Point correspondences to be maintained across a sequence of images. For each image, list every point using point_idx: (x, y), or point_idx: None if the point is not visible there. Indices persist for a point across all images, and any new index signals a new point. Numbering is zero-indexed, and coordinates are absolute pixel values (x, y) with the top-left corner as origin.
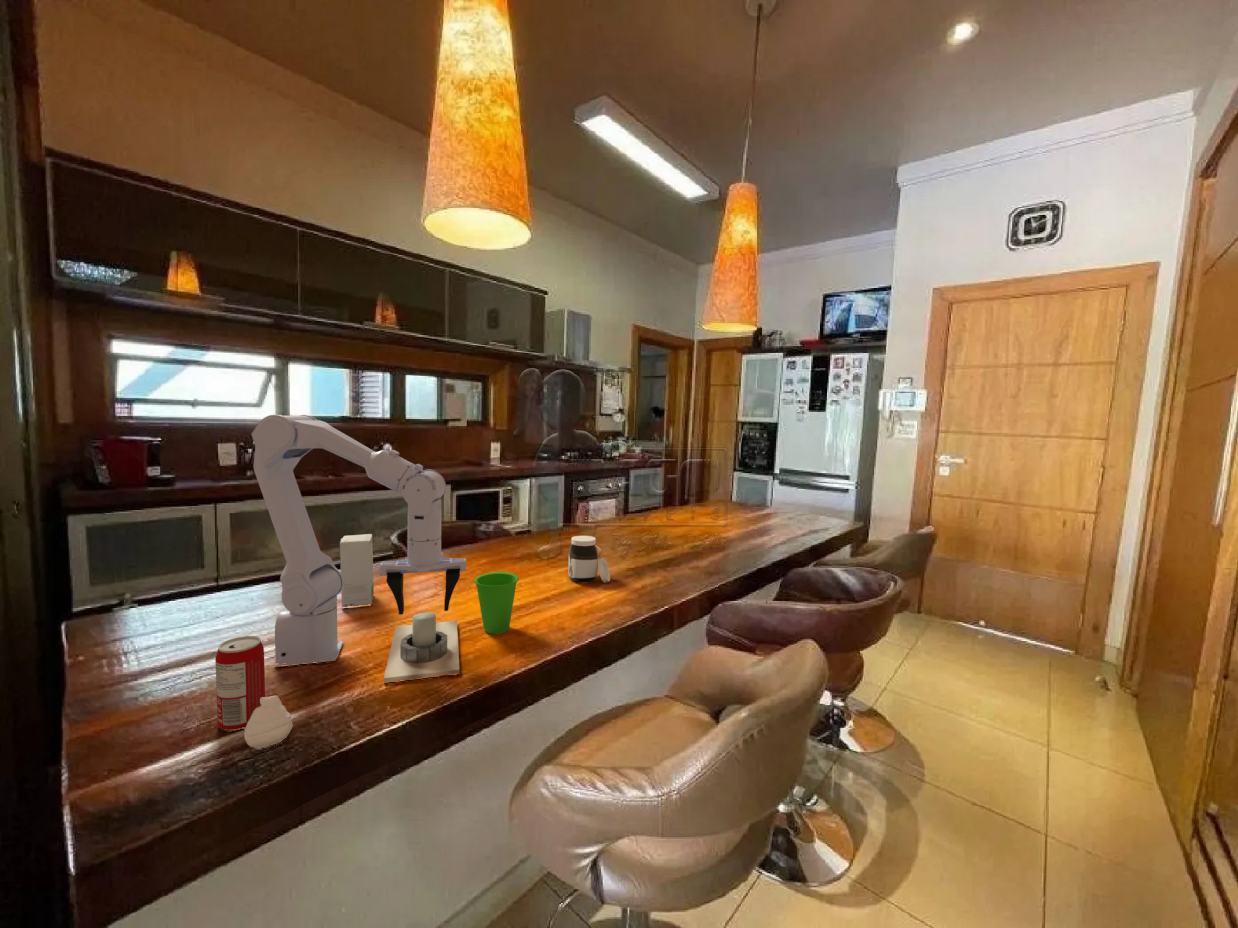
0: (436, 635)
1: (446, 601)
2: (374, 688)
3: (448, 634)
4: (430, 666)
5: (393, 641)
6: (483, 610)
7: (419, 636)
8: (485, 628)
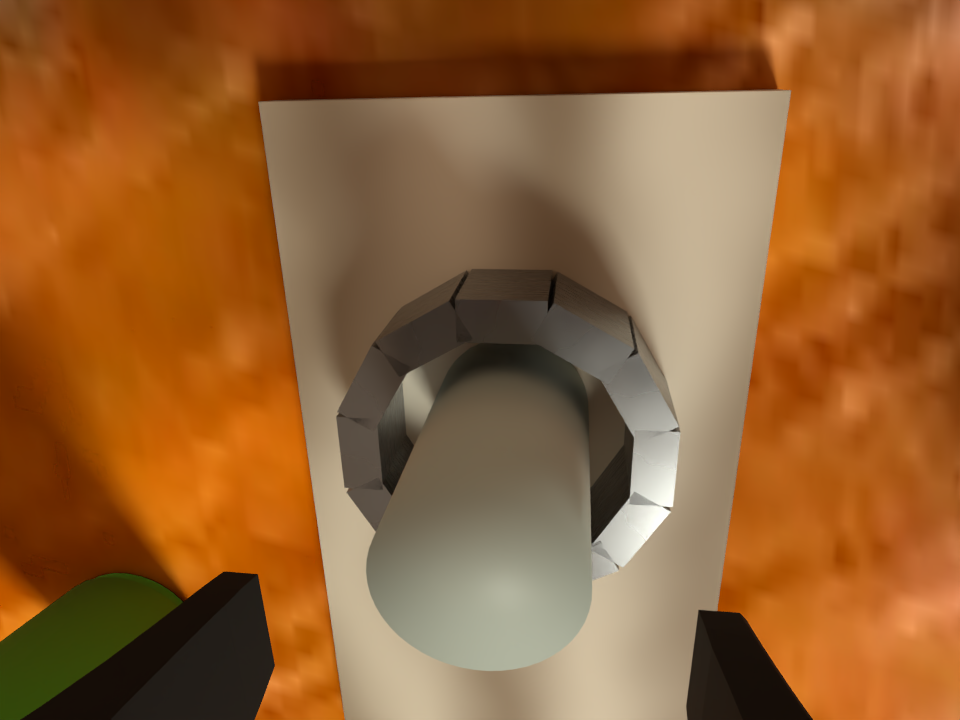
0: None
1: (166, 644)
2: (846, 38)
3: None
4: (460, 200)
5: None
6: None
7: (529, 415)
8: None
